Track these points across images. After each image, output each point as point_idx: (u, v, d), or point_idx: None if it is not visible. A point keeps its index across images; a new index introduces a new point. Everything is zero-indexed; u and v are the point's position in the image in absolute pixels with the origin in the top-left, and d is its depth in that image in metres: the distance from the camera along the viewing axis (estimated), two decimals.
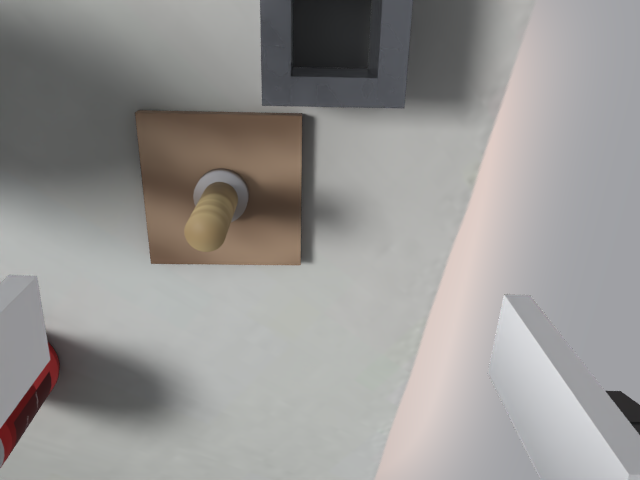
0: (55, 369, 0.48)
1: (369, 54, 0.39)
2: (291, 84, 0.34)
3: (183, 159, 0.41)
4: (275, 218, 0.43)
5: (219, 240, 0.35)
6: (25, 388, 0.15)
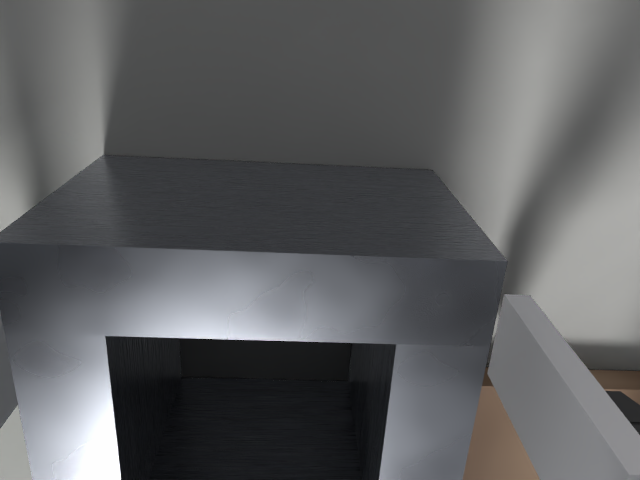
0: None
1: None
2: None
3: None
4: None
5: None
6: None
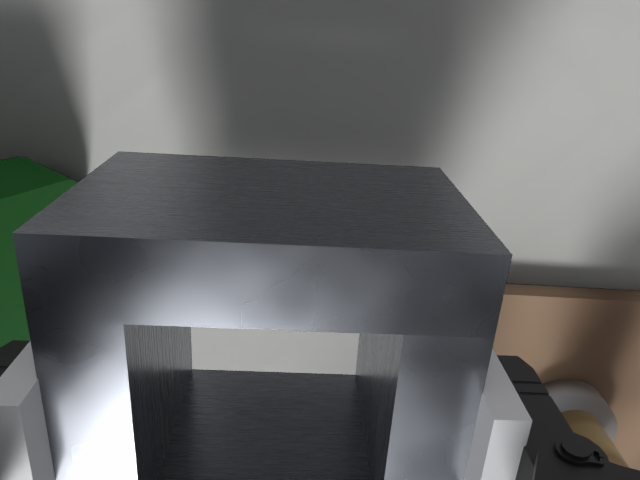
0: None
1: None
2: None
3: None
4: (625, 343, 0.24)
5: None
6: None
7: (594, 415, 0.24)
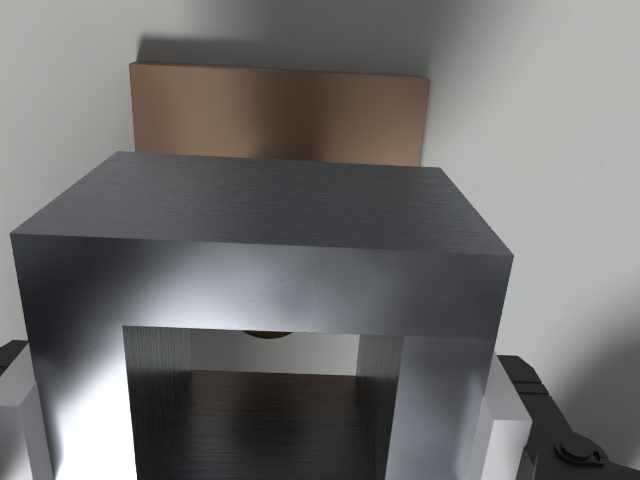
0: None
1: None
2: None
3: None
4: (327, 125, 0.23)
5: None
6: None
7: None
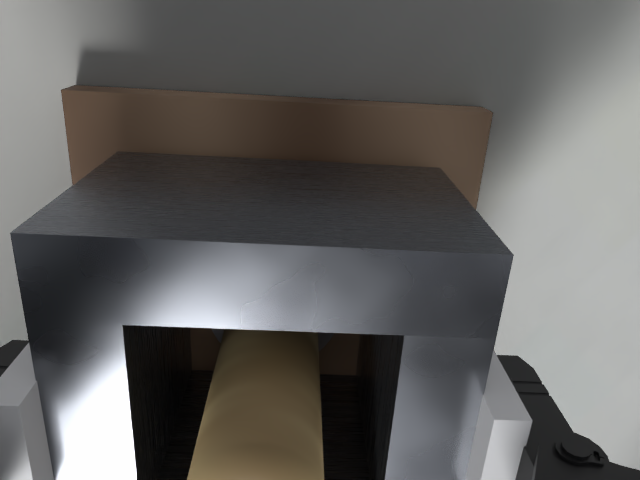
0: None
1: None
2: None
3: (195, 362, 0.19)
4: None
5: (283, 459, 0.10)
6: None
7: None
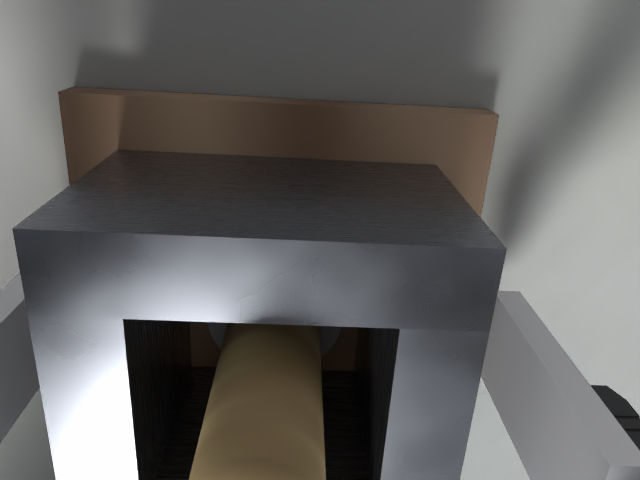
0: None
1: None
2: None
3: None
4: None
5: (284, 475, 0.10)
6: (37, 384, 0.15)
7: None
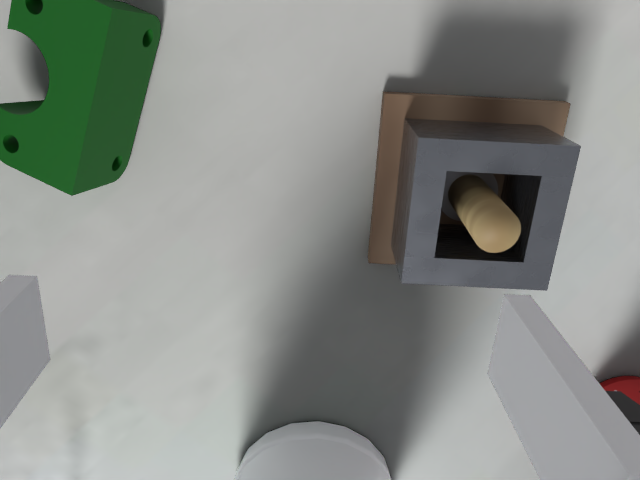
0: (639, 383, 0.43)
1: None
2: (531, 262, 0.33)
3: None
4: None
5: (508, 216, 0.30)
6: (25, 388, 0.15)
7: (482, 179, 0.36)
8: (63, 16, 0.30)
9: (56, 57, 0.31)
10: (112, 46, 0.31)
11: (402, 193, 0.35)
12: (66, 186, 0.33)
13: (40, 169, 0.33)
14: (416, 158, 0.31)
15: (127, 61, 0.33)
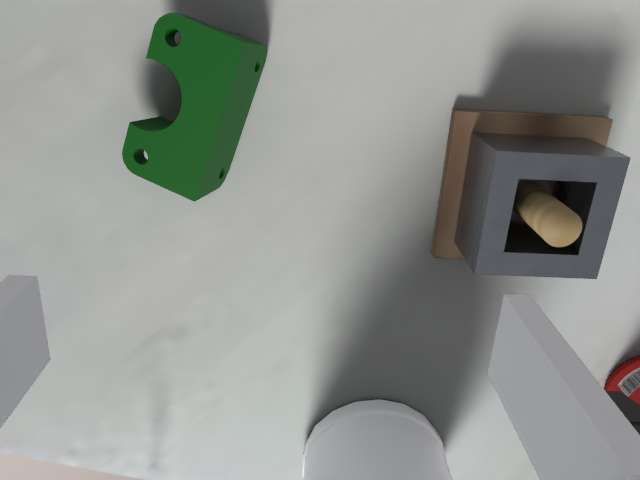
0: None
1: None
2: (585, 255, 0.39)
3: None
4: None
5: (572, 216, 0.36)
6: (25, 388, 0.15)
7: (537, 184, 0.42)
8: (199, 48, 0.35)
9: (189, 83, 0.36)
10: (238, 74, 0.36)
11: (471, 197, 0.41)
12: (190, 193, 0.38)
13: (166, 178, 0.38)
14: (493, 168, 0.37)
15: (244, 85, 0.38)
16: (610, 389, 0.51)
